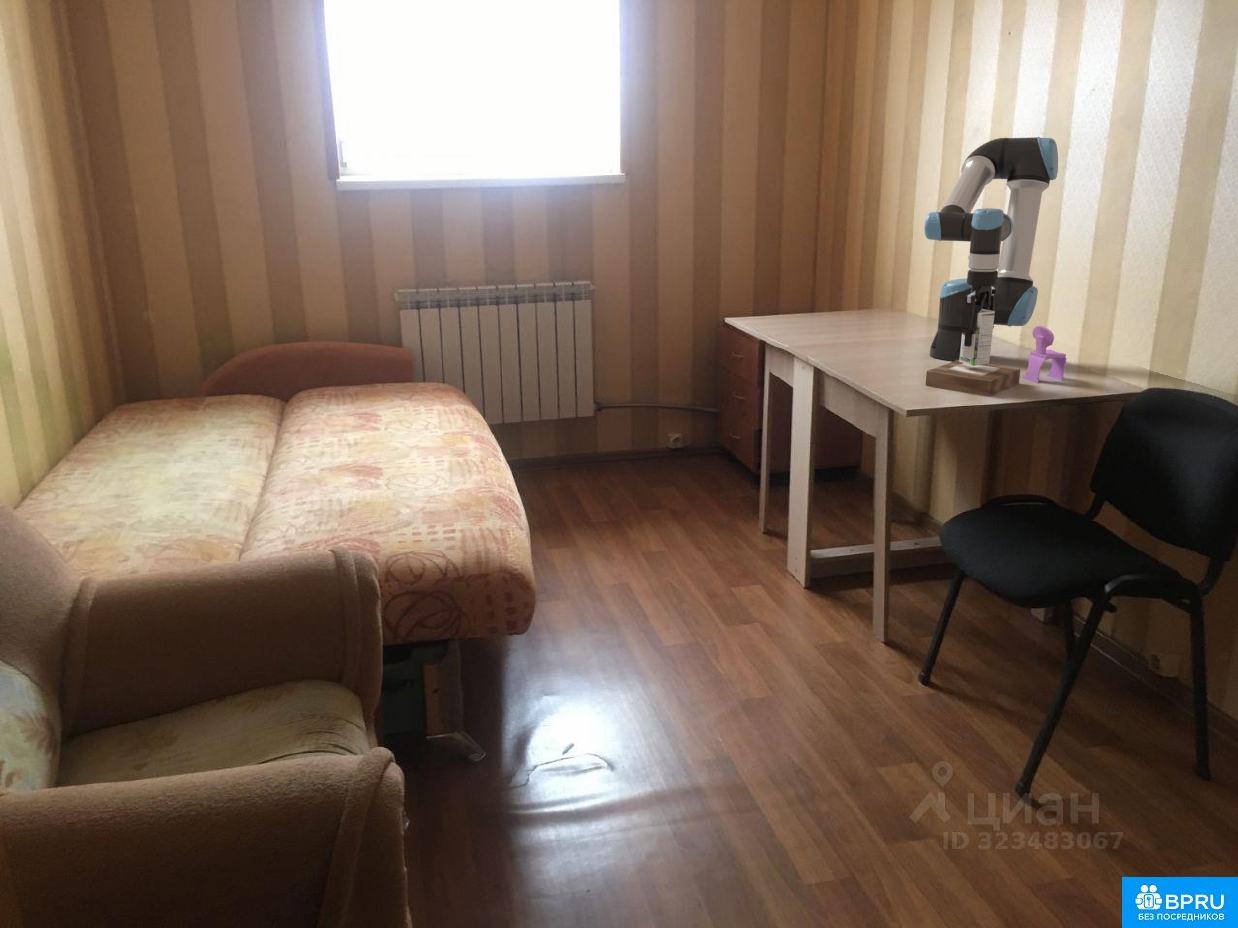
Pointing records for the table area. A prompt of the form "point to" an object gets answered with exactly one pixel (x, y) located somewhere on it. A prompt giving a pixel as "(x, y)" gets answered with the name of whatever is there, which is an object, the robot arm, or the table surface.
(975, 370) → the walnut base
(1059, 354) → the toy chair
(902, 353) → the table surface
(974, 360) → the syrup box
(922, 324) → the table surface
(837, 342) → the table surface
